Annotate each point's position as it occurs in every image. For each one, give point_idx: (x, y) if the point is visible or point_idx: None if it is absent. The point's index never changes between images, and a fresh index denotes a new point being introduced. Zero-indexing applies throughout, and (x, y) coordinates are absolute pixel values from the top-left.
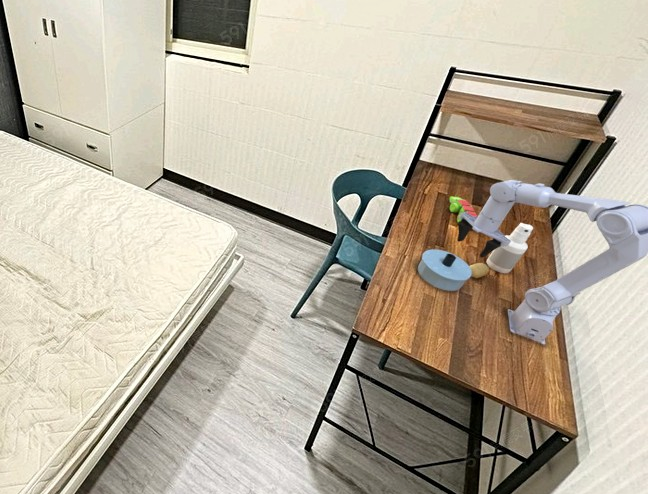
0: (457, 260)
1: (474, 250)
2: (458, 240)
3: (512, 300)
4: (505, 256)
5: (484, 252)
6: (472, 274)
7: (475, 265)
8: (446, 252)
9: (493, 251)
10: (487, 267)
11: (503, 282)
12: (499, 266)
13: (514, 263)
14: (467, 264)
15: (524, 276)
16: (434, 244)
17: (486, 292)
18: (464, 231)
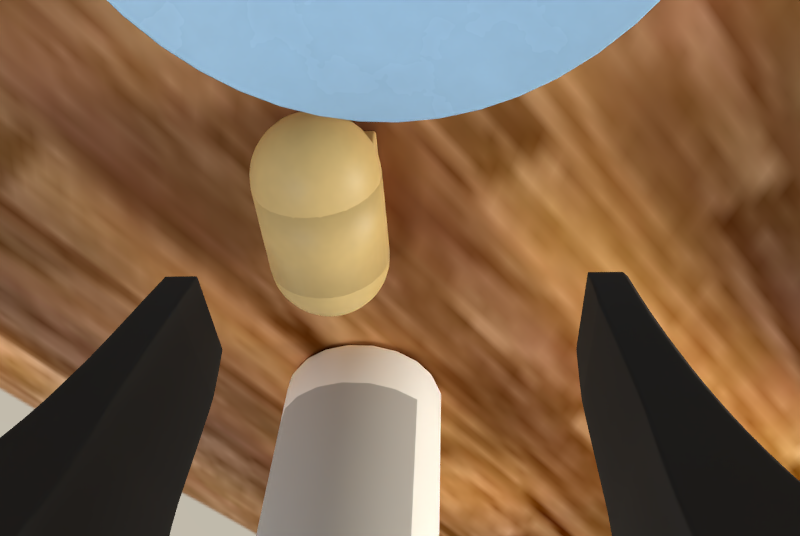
0: (391, 39)
1: (552, 389)
2: (605, 282)
3: (16, 210)
4: (304, 491)
5: (97, 362)
6: (277, 127)
7: (333, 227)
8: (589, 28)
9: (418, 468)
10: (294, 303)
11: (211, 304)
12: (315, 391)
13: (268, 480)
14: (289, 107)
15: (250, 441)
16: (796, 176)
17: (101, 88)
18: (648, 499)
